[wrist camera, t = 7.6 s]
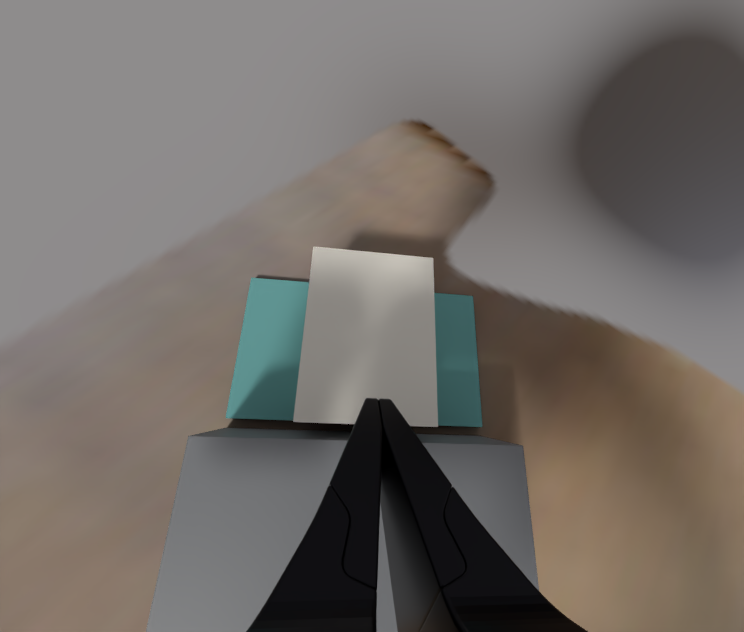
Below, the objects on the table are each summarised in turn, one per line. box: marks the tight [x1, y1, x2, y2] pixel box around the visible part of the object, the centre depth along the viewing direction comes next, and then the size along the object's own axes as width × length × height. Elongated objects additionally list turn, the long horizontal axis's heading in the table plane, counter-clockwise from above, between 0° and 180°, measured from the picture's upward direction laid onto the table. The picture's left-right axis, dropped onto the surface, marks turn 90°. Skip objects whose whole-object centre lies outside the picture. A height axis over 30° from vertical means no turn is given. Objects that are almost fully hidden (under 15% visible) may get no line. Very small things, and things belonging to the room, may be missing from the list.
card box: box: [293, 247, 438, 427], centre depth 15 cm, size 4×6×8 cm
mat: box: [226, 278, 482, 427], centre depth 17 cm, size 8×14×1 cm, turn 88°
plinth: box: [146, 428, 539, 632], centre depth 13 cm, size 6×14×4 cm, turn 88°
